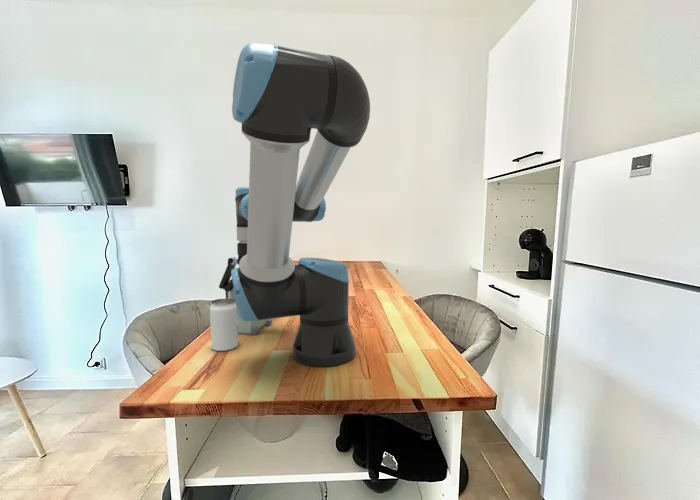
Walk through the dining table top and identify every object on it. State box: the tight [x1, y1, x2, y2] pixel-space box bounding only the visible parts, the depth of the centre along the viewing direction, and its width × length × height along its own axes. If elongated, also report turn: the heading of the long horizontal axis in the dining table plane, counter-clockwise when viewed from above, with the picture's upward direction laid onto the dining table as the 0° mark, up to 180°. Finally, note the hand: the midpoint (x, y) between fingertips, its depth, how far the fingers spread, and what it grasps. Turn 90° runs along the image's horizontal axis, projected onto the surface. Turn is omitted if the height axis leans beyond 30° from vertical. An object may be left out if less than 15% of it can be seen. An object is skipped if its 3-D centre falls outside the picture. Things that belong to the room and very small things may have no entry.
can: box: [209, 297, 239, 352], centre depth 89 cm, size 6×6×12 cm
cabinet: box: [229, 277, 273, 336], centre depth 108 cm, size 18×15×13 cm
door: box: [237, 311, 267, 335], centre depth 103 cm, size 10×5×10 cm, turn 166°
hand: (252, 313), depth 103 cm, fingers open, 13 cm apart
